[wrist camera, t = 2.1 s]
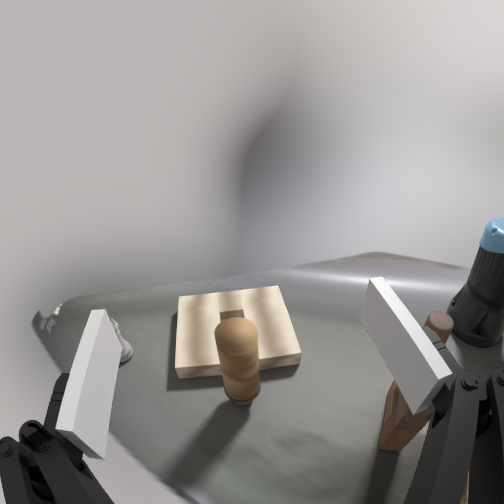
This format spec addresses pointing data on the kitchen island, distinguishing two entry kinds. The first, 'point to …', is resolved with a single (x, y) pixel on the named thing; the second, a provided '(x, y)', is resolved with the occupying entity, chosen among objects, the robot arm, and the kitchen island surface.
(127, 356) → the rook chess piece
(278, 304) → the birch board
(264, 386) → the kitchen island surface
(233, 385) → the oak leg
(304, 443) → the kitchen island surface
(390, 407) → the wooden post with wedge
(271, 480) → the kitchen island surface
